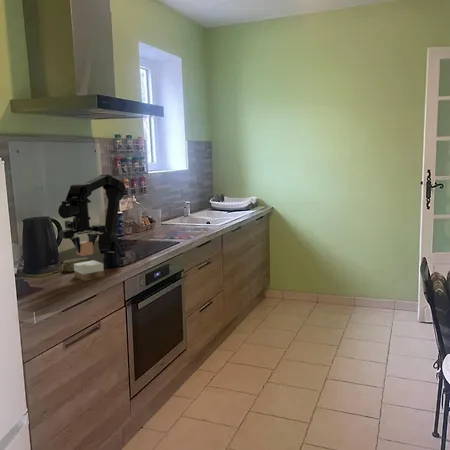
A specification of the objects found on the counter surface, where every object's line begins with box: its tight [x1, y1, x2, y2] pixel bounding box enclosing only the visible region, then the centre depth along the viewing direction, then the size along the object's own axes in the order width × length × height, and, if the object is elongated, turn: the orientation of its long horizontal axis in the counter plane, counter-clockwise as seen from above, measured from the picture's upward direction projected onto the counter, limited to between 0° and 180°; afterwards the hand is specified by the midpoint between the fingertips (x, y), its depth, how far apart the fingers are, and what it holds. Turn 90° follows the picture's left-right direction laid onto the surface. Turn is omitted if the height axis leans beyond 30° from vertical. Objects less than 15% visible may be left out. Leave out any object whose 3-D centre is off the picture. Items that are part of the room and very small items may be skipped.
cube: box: [75, 240, 94, 257], centre depth 194 cm, size 5×5×5 cm
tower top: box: [73, 259, 105, 275], centre depth 195 cm, size 9×9×3 cm
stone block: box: [62, 256, 91, 273], centre depth 209 cm, size 6×12×5 cm, turn 130°
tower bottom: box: [73, 270, 105, 282], centre depth 195 cm, size 9×9×3 cm
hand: (84, 251), depth 194 cm, fingers closed on cube, 5 cm apart
